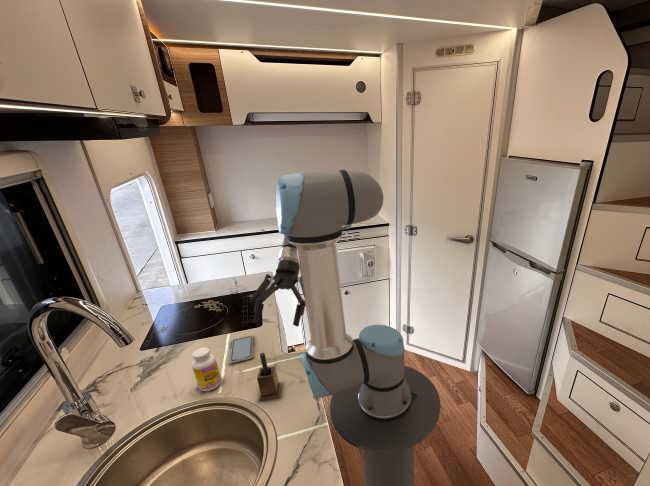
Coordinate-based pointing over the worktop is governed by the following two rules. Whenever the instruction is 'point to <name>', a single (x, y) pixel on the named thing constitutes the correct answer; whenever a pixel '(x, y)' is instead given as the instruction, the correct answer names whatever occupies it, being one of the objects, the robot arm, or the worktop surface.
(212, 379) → the supplement bottle
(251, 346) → the smartphone
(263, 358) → the stylus
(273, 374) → the pen holder
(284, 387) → the worktop surface
